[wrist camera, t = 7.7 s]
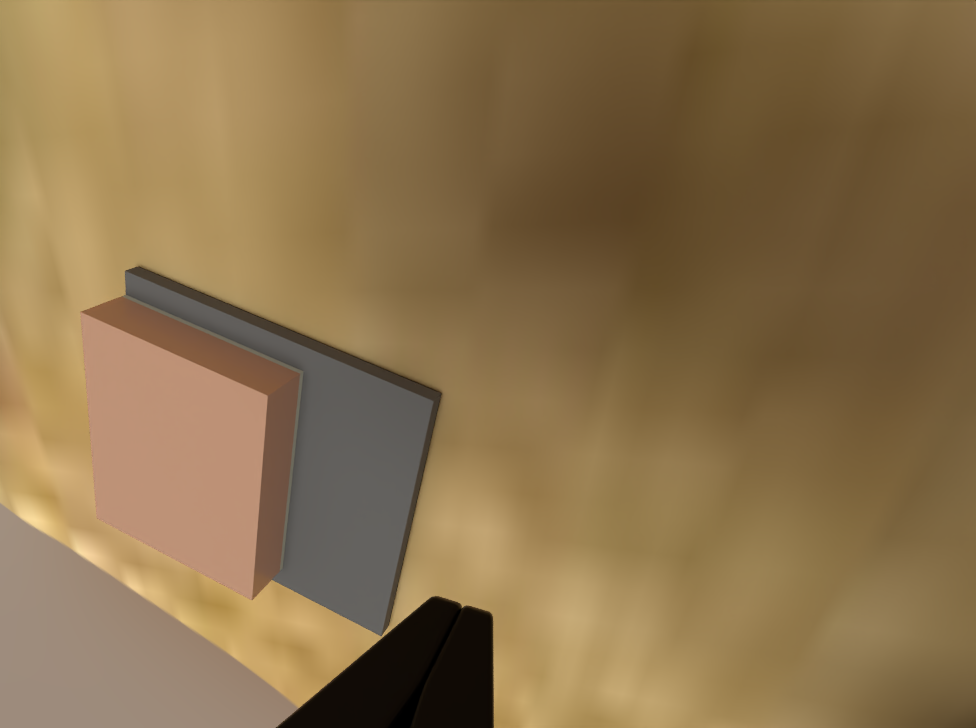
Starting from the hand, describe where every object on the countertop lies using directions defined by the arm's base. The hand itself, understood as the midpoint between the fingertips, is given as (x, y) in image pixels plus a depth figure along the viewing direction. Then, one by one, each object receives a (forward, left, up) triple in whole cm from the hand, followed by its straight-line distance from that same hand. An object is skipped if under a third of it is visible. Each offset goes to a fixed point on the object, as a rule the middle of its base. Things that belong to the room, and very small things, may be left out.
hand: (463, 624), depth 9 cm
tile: (+3, +15, -11) cm, 19 cm away
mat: (+4, +16, -13) cm, 20 cm away
